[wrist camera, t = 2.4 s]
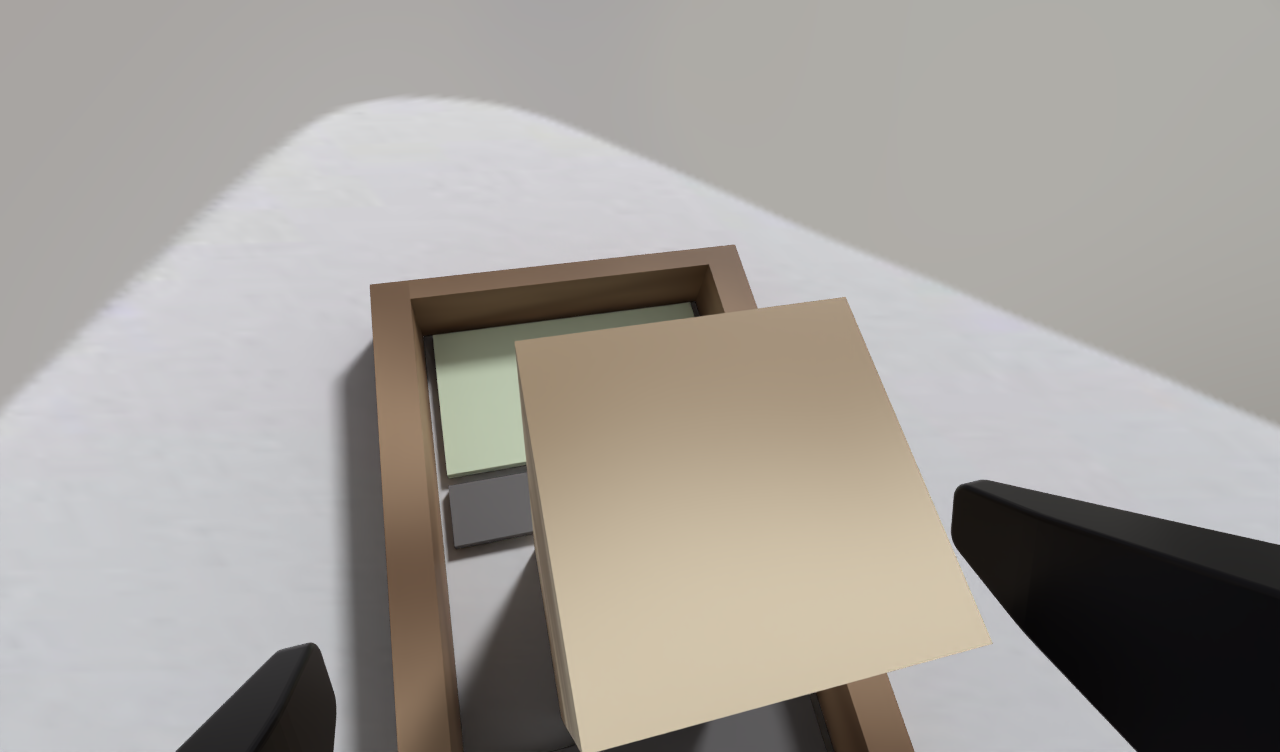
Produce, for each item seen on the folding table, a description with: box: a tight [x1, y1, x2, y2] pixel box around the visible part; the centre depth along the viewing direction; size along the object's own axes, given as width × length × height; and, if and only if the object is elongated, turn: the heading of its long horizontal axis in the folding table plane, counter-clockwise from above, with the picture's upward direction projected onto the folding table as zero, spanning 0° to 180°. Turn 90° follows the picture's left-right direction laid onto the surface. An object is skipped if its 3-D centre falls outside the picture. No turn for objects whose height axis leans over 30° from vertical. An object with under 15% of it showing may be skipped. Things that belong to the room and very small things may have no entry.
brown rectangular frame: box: [370, 245, 914, 752], centre depth 16 cm, size 16×10×2 cm, turn 13°
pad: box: [433, 303, 694, 478], centre depth 19 cm, size 4×8×1 cm, turn 103°
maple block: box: [514, 297, 993, 752], centre depth 11 cm, size 4×4×11 cm
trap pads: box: [448, 472, 827, 752], centre depth 16 cm, size 10×8×1 cm
